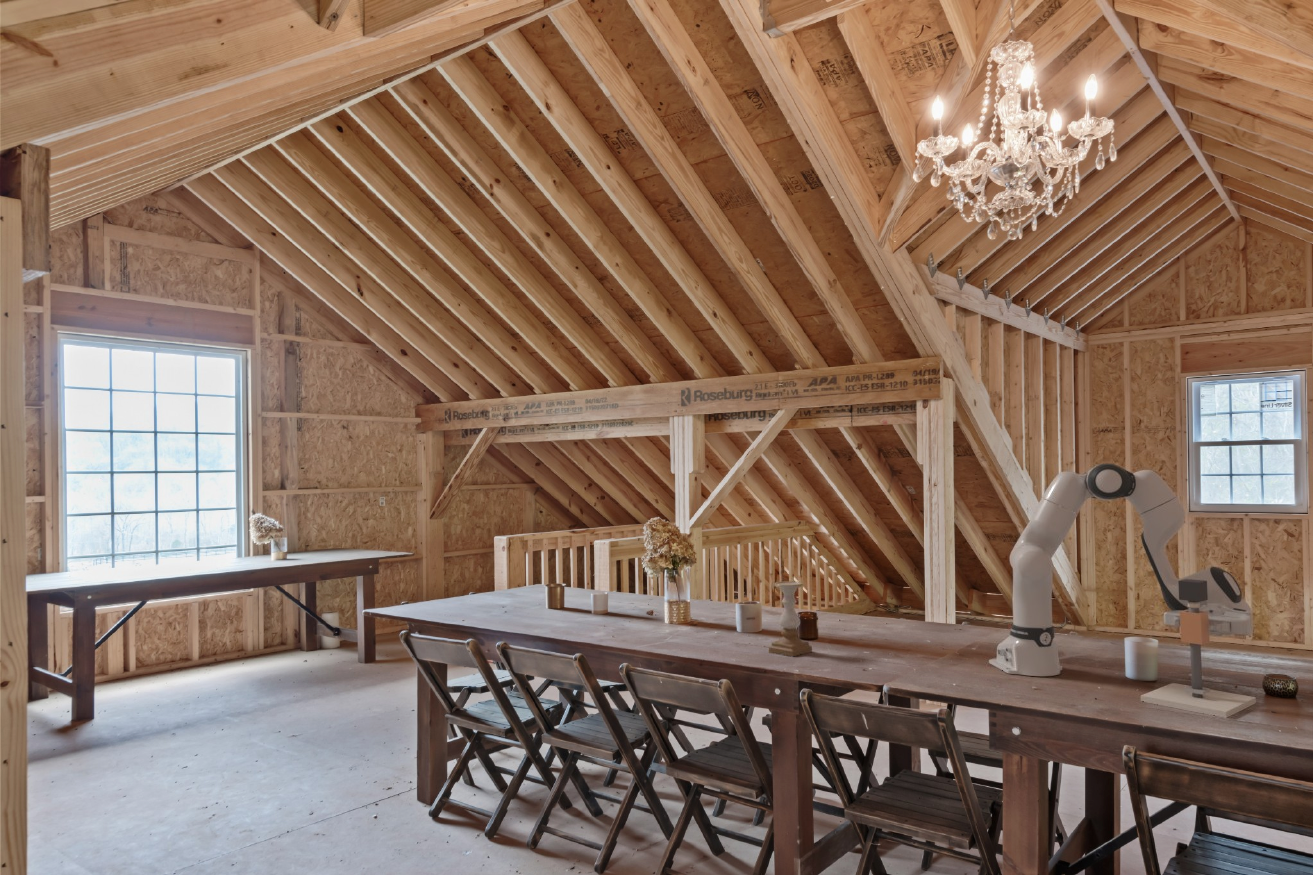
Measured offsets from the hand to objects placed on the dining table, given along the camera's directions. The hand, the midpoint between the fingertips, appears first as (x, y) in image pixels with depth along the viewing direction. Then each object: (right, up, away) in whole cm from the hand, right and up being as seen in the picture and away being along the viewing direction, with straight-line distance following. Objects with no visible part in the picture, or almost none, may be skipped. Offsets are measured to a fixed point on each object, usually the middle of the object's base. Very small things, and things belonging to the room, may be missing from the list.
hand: (1195, 625), depth 225 cm
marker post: (0, -20, -1) cm, 20 cm away
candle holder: (-97, -25, +69) cm, 122 cm away
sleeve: (0, -4, 0) cm, 4 cm away
